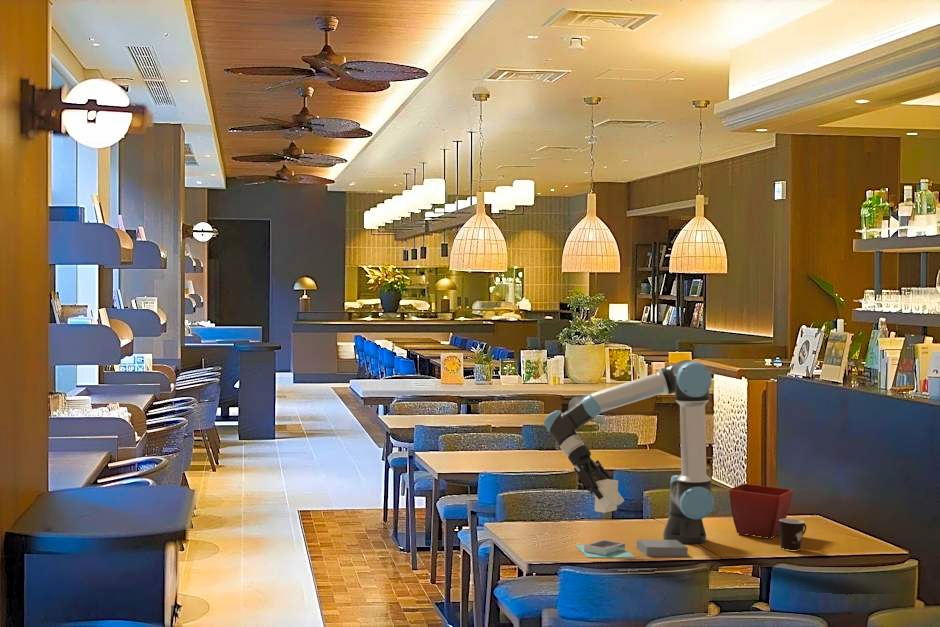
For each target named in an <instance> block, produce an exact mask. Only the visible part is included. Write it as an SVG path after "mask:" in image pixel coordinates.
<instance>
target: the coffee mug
mask: <svg viewBox="0 0 940 627" xmlns="http://www.w3.org/2000/svg"><path fill="white" fill-rule="evenodd" d="M779 525H780V534H779V535H780V536H779V537H780V549H781V548H784V549H789V550H798V549H800V550H801V546H802V540H803V536H804V535H805V533H806V531H807V525H806V523H805V521H804V520H801V519H795V518H786V519H780V520H779Z"/></svg>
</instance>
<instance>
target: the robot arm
mask: <svg viewBox="0 0 940 627" xmlns="http://www.w3.org/2000/svg"><path fill="white" fill-rule="evenodd" d="M712 379H713V378H712V375H711V372H710V370H709V369H708V368H707V366H706V365H705V364H703V363H702V362H698V361H694V360H691V359H683V360H680V361H678V362H676V363H673V364H670V365H668V366H665V367H662V368H659V369H658V370H657V372H656V373H651V374H649V375H646V376H644V377H640V378H637V379H633V380H630V381H627V382H623V383H621V384H617V385H613V386H611V387H608V388H604V389H602V390H598V391H595V392H592V393H589V394H586V395H582V396H580V395H579V396H575V397H572V399H570V401H569V403H568V409H567V410H566V411H565V412H562V411H561V410H559V409H558V410H554V411H553V412H551V413H549V414H548V415H547V416H546V417H545V419H544V421H543V425H544V426H545V428H546V429H547V431H548V433H549V435H551V436H552V438H553V439H554V440H555V443H557V445H558V446H559V448H560V449H561V451H562V452H563V454H564V455H565V456H566V457H567V459H568V460H569V462H570V463H571V464H572V466H573V470H574V471H575V473H576V474H577V475H578V477H579V479H580V481H581V482H582V484H583V485H584V487H585V488H586V491H587V492H589V494H591V495H593V494H594V496H595V495H596V496H597V498H598V499H599V501H600V502H601V503H602V505H603V506H604V508H607V507H608V506H609V505H610V504H611V502H610V501H609V499H608V498H607V496H606V495H605V494H604V492H603V491H602V489H601V488H598V486H597V483H596V480H595V478H596V479H597V481H600V480H605V479H611V480H615V479H614V478H613V477H612V476H611V474H610V473H608V471H607V470H606V469H605V468H604V466H603V465H602V464H601V462H600V461H599V460H596V461H594V460H593V459H592V458H591V455H592V453H591V452H592V451H591V450H590V449H589V448H588V446H587V445H586V444H585V443H584V441H583V440H582V438H581V436H580V435H579V433H577V432H576V431H578V430H579V429H580V428H582V427H583V426H585V425H587V423H589V422H590V421H591V420H593V419H595V418H597V416H599V414H601V413H604V412H607V411H610V410H613V409H616V408H620V407H623V406H626V405H629V404H633V403H636V402H639V401H642V400H646V399H649V398H652V397H657V396H659V395H662V394H664V395H672V394H674V398H675V400H674V401H675V402H676V403H677V404H678V405H679V425H680V426H679V427H680V430H679V431H680V432H679V433H680V434H679V435H680V474H679V475H677V474H676V475H675V474H674V475H672V476H671V477H670V483H669V486H670V489H669V509H668V510H669V513H668V518H667V522H666V524H665V526H664V530H663V534H662V535H663V536H662V538H663V540H677V541H679V542H680V543H682V544H703V543H705V542H706V541H707V533H706V529H705V525H704V521H703V519H705V518H707V517H708V516H709V515H710V514H711V513H712V511H713V509H714V507H715V499H714V496H713V493H712V479H711V477H710V476H709V475H708V474H707V446H706V445H707V441H706V438H707V437H706V436H707V435H706V434H707V433H706V404H707V403H708V402H710V389H711V386H712V382H713V380H712ZM623 502H625V499H624V498H623V496H622V495H621V494H620V492H619V491H618V496H617V506H620V505H621V504H622V503H623Z"/></svg>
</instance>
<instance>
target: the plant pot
mask: <svg viewBox="0 0 940 627" xmlns="http://www.w3.org/2000/svg"><path fill="white" fill-rule="evenodd" d="M793 492H794V490H793V489H790V488H789V489H788V488H782V487H776V486H775V487H774V486H767V485H760V484H751V483H741V484H739V485H736V486H734V487H731V488H729V489H728V494H729V495H728V496H729V502H730V503H729V504H730V510H731V515H732V518H733V519H732V520H733V523H734V527H735V530H736V533H737V534H738V533H739V534H738V535H741V534H748V535H755V536H761V537H768V538H771V537H773V536H775V535H777V534H779V533H780V525H779V520H780V519H787V516H788V513H789V510H790V506H791V502H792V498H793ZM779 535H780V534H779ZM777 536H778V535H777ZM775 537H776V536H775ZM773 538H774V537H773ZM771 539H772V538H771Z"/></svg>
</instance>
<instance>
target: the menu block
mask: <svg viewBox="0 0 940 627" xmlns="http://www.w3.org/2000/svg"><path fill="white" fill-rule="evenodd" d="M595 481H596V480H595ZM596 483H597V486H598V488H601V489H602V491H603V492H604V494H605V495H606V496H607V498H608V499H609V501H610V502H611V504H610V505H609V506H608V507H607V508H604V506H603V505H602V503H601V502H600V501H599V499H598V498H597V496H596V495H595V494H594V512H597V513H604V514H606V513H610V512H614V511H617V510H618V504H617V496H618V492H619V480H617V479H614V480H611V479H605V480H600V481H599V480H597V481H596Z"/></svg>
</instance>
